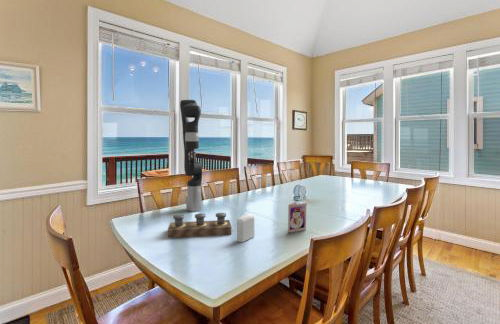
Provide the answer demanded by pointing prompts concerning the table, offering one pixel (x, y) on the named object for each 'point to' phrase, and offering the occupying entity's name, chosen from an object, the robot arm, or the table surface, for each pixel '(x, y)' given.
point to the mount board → (199, 229)
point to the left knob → (178, 220)
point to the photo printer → (245, 227)
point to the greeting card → (296, 217)
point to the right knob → (221, 218)
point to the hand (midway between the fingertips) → (192, 170)
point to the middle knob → (200, 219)
